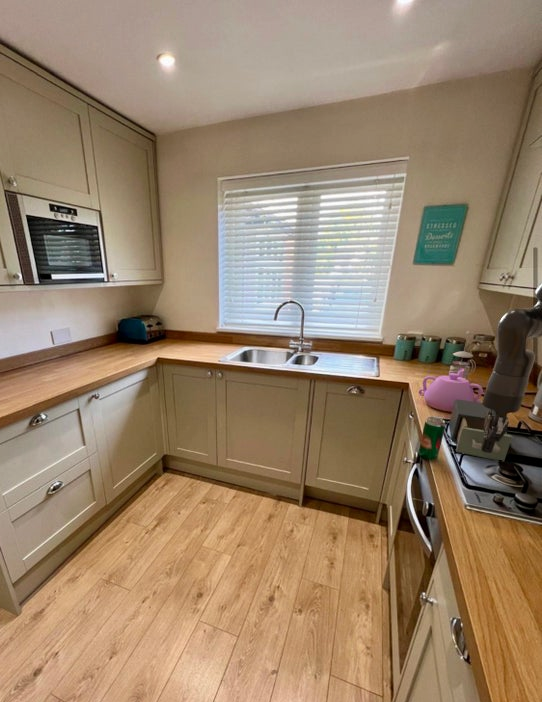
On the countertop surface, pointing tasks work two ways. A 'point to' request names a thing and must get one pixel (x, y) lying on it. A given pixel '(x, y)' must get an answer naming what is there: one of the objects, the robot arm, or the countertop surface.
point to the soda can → (431, 438)
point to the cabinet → (466, 414)
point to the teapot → (449, 391)
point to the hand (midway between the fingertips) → (486, 450)
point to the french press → (460, 364)
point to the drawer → (479, 440)
